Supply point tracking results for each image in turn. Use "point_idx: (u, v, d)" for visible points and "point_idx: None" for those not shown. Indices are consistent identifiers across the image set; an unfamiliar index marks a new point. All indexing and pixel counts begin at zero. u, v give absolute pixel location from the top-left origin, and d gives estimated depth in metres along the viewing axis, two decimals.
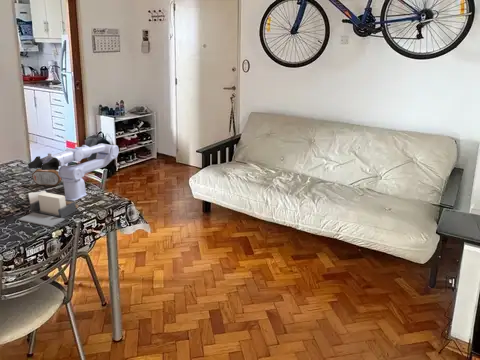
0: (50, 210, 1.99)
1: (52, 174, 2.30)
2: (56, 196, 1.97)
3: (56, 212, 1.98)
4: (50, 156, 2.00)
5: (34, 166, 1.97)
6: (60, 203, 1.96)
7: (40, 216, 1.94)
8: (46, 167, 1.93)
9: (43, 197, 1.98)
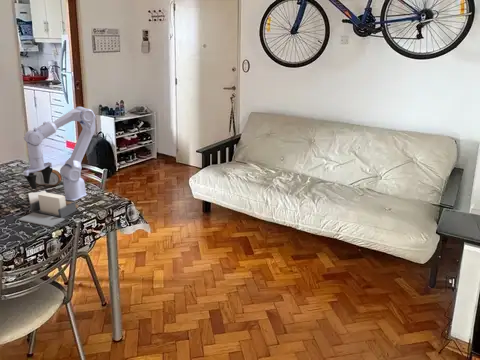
0: (50, 210, 1.99)
1: (52, 174, 2.30)
2: (56, 196, 1.97)
3: (56, 212, 1.98)
4: None
5: (47, 178, 2.07)
6: (60, 203, 1.96)
7: (40, 216, 1.94)
8: (33, 185, 2.00)
9: (44, 197, 1.98)
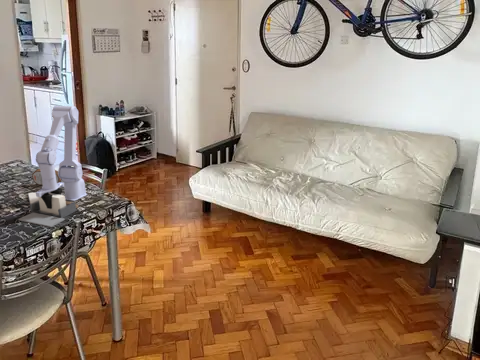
0: (50, 210, 1.99)
1: None
2: (56, 196, 1.97)
3: (56, 212, 1.98)
4: None
5: None
6: (60, 202, 1.96)
7: (40, 216, 1.94)
8: (48, 204, 1.97)
9: None
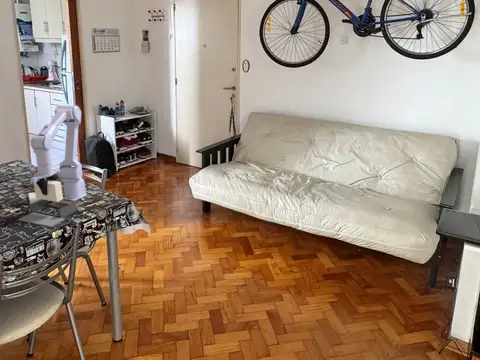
0: (46, 197, 1.95)
1: None
2: (52, 182, 1.93)
3: (52, 198, 1.94)
4: None
5: None
6: (56, 189, 1.92)
7: (40, 216, 1.94)
8: (44, 191, 1.93)
9: None
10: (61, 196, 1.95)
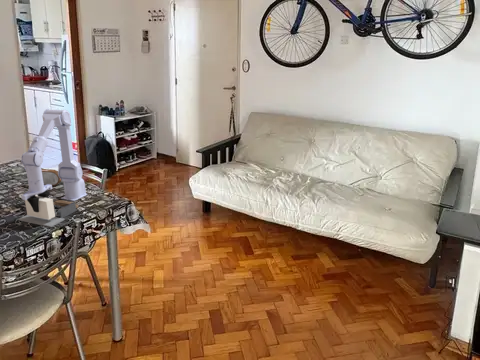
0: (38, 214, 1.89)
1: (52, 174, 2.30)
2: (43, 199, 1.87)
3: (43, 216, 1.88)
4: None
5: None
6: (47, 206, 1.86)
7: None
8: (35, 208, 1.88)
9: None
10: (53, 213, 1.90)
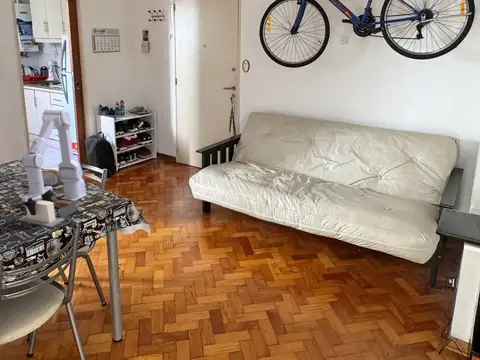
0: (38, 217, 1.90)
1: (52, 174, 2.30)
2: (44, 203, 1.88)
3: (44, 219, 1.89)
4: None
5: None
6: (48, 210, 1.87)
7: None
8: (32, 211, 1.86)
9: None
10: (54, 217, 1.90)
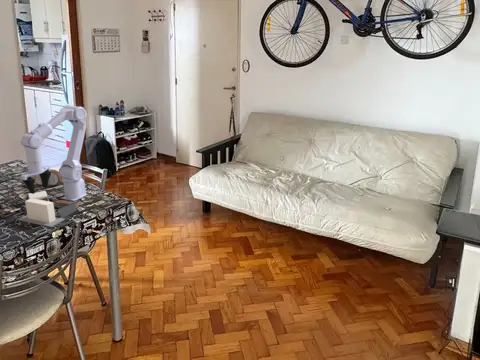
0: (38, 217, 1.90)
1: (52, 174, 2.30)
2: (44, 203, 1.88)
3: (44, 219, 1.89)
4: None
5: (45, 182, 2.02)
6: (48, 210, 1.87)
7: None
8: (31, 189, 1.95)
9: (31, 203, 1.89)
10: (54, 217, 1.90)
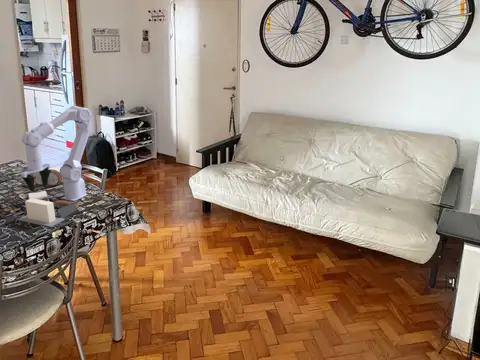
0: (38, 217, 1.90)
1: (52, 174, 2.30)
2: (44, 203, 1.88)
3: (44, 219, 1.89)
4: None
5: (45, 179, 2.05)
6: (48, 210, 1.87)
7: None
8: (31, 187, 1.98)
9: (31, 203, 1.89)
10: (54, 217, 1.90)
